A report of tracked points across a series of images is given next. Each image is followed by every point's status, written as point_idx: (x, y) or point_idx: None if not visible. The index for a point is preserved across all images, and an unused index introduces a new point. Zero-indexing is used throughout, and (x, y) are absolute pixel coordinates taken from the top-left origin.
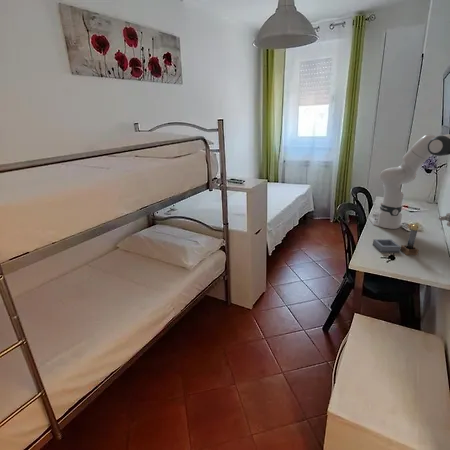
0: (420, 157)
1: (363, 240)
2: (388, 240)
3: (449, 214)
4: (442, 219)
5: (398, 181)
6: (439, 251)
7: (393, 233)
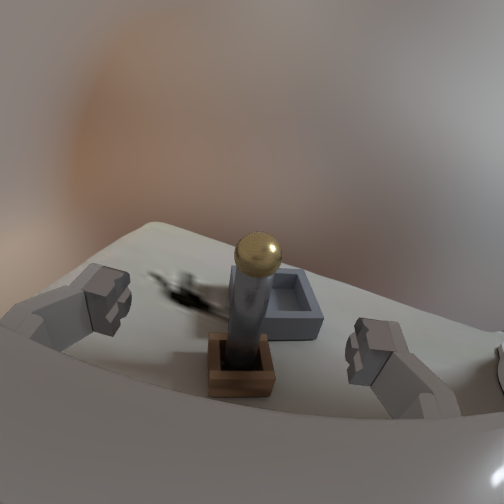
0: None
1: (336, 283)
2: (309, 307)
3: (500, 422)
4: (351, 358)
5: None
6: None
7: (464, 391)
